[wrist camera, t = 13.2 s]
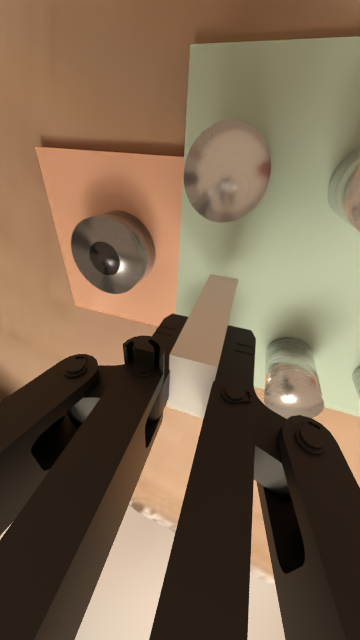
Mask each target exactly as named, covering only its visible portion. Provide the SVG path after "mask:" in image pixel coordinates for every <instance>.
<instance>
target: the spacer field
mask: <svg viewBox="0 0 360 640" xmlns="http://www.w3.org/2000/svg"><path fill="white" fill-rule="evenodd" d="M224 120H240V121H243V122H246V123H248V124H250V125H251V126H253V127H254V128H255V129H257V131H258V132H259V133H260V134H261V135H262V137H263V138H264V140H265V142H266V144H267V146H268V149H269V153H270V158H271V174H270V179H269V183H268V186H267V189H266V191H265V194H264V195H263V197H262V199H261V200H260V202H259V203H258V205H257V206H256V207H255V208H254V209H253V210H252V211H251V212H250V213H248V214H247V215H245V216H244V217H242V218H240V219H238V220H235V221H232V222H226V223H219V222H213V221H210V220H208V219H206V218H204V217H203V216H201V215H200V214H199V213H198V212H197V211H196V210H195V209H194V208H193V207H192V205H191V203H190V202H189V199H188V197H187V195H186V192H185V187H184V167H183V186H182V204H181V223H180V241H179V260H178V279H177V297H176V314H177V315H182V316H186V317H189V315H190V313H191V311H192V309H193V307H194V305H195V303H196V301H197V299H198V297H199V296H200V294H201V292H202V290H203V288H204V286H205V284H206V282H207V280H208V278H209V276H210V274H213V275H219V276H224V277H230V278H235V279H238V284H237V288H236V292H235V297H234V301H233V306H232V310H231V314H230V319H229V323H228V325H230V326H235V327H239V328H244V329H248V330H251V331H252V332H253V334H254V336H255V338H256V347H255V366H254V387H257V388H260V389H264V388H265V353H266V348H267V346H268V345H269V344H270V343H271V342H272V341H274V340H276V339H278V338H282V337H295V338H299V339H301V340H303V341H305V342H306V343H308V344H309V345H310V347H311V348H312V351H313V355H314V360H315V364H316V369H317V373H318V378H319V382H320V387H321V391H322V396H323V400H324V407H326V408H330V409H333V410H337V411H340V412H344V413H347V414H351V415H354V416H358V417H360V399H359V397H358V394H357V391H356V389H355V386H354V383H353V381H352V374H353V371H354V370H355V369H356V368H357V367H358V366H360V233H359V232H358V231H357V230H356V229H354V228H353V227H352V226H351V225H349V224H348V223H347V222H346V221H344V220H343V219H342V218H341V217H339V216H338V215H337V214H335V212H334V211H333V210H332V209H331V207H330V205H329V202H328V195H327V194H328V186H329V182H330V180H331V177H332V175H333V173H334V172H335V170H336V168H337V167H338V166H339V164H340V163H341V162H342V161H343V160H344V159H345V158H346V157H347V156H348V155H349V154H350V153H352V152H353V151H354V150H356V149H357V148H359V147H360V36H354V37H333V38H312V39H290V40H269V41H248V42H226V43H205V44H190V56H189V74H188V93H187V112H186V130H185V149H184V166H185V161H186V158H187V155H188V152H189V150H190V148H191V146H192V144H193V143H194V141H195V140H196V139H197V137H198V136H199V135H200V134H201V133H202V132H203V131H204V130H205V129H207V128H208V127H210V126H211V125H213V124H215V123H217V122H220V121H224Z"/></svg>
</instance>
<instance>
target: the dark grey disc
mask: <svg viewBox="0 0 360 640" xmlns="http://www.w3.org/2000/svg"><path fill="white" fill-rule="evenodd" d="M71 250H72V255H73V258H74V261H75V263H76V265H77V267H78V269H79V270H80V272H81V273H82V275H83V276H84V277H85V278H86V279H87V280H88V281H89V282H90V283H91V284H92V285H93V286H95V287H96V288H98V289H100V290H102V291H104V292H107V293H111V294H122V293H125V292H127V291H129V290H131V289H132V288H133V287H134V286H135V285H136V284H137V283H139V282H140V281H141V280H142V279H143V278H144V277H145V276H146V275H147V274H148V273H149V272H150V271H151V269H152V268H153V265H154V262H155V254H156V253H155V245H154V242H153V239H152V236H151V234H150V232H149V231H148V229H147V228H146V226H145V225H144V224H143V223H142V222H141V221H140V220H139V219H138V218H136V217H135V216H134V215H132V214H130V213H127V212H125V211H119V210H115V211H110V212H106V213H103V214H99V215H96V216H92V217H89V218H86V219H84V220H82V221H80V222H79V223H78V224H77V225H76V227H75V229H74V230H73V233H72V237H71Z"/></svg>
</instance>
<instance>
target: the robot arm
mask: <svg viewBox="0 0 360 640" xmlns="http://www.w3.org/2000/svg"><path fill="white" fill-rule="evenodd" d="M237 284H238V279H235V278H230V277H224V276H219V275H213V274H210V276H209V278H208V280H207V282H206V284H205V286H204V288H203V290H202V292H201V294H200V296H199V297H198V299H197V301H196V303H195V305H194V307H193V309H192V311H191V313H190V315H189V317H186V316H182V315H177V314H173V313H172V314H170V315H169V316H167V317H165V318H164V319H163V321H162V322H161V324H160V325H159V327H158V328H157V330H156V331H155V333H154V334H153V336H152V337H151V336H137V337H133V338H131V339H129V340H127V341H126V342H125V343H124V344H123V351H124V360H125V364H124V365H117V366H98V363H97V360H96V359H95V358H94V357H93V356H90V355H87V354H77V355H73V356H69V357H68V358H66V359H64V360H62V361H60V362H59V363H57V364H56V365H54V366H53V367H51V368H50V369H48V370H47V371H45V372H44V373H42V374H41V375H40V376H38V377H37V378H35V379H34V380H32V381H31V382H29V383H28V384H26V385H25V386H23V387H22V388H20V389H19V390H17V391H16V392H14V393H13V394H11V395H10V396H8V397H7V398H5V399H4V400H2V401H1V402H0V535H1V534H2V533H3V532H4V531H5V530H6V529H7V527H8V526H9V525H10V524H11V523H12V522H13V523H12V524H11V526H10V527H9V529H8V530H7V531H6V533H5V534H4V535H3V537H2V538H1V540H0V640H74V639H75V637H76V634H77V632H78V629H79V627H80V624H81V622H82V619H83V617H84V614H85V612H86V609H87V607H88V604H89V602H90V600H91V597H92V595H93V592H94V589H95V587H96V585H97V582H98V580H99V577H100V575H101V572H102V569H103V567H104V565H105V562H106V559H107V557H108V555H109V552H110V549H111V547H112V545H113V542H114V540H115V537H116V535H117V532H118V529H119V527H120V525H121V522H122V520H123V517H124V515H125V512H126V510H127V507H128V505H129V502H130V500H131V497H132V495H133V492H134V490H135V487H136V485H137V482H138V480H139V477H140V475H141V472H142V470H143V467H144V465H145V462H146V460H147V457H148V455H149V452H150V450H151V447H152V445H153V442H154V440H155V437H156V435H157V432H158V430H159V427H160V425H161V422H162V418H163V410H164V408H165V405H166V403H167V407H168V408H172V409H175V410H178V411H181V412H184V413H187V414H191V415H194V416H197V417H200V418H203V424H202V428H201V432H200V436H199V440H198V444H197V448H196V452H195V456H194V460H193V464H192V468H191V472H190V476H189V480H188V484H187V489H186V493H185V497H184V501H183V505H182V509H181V513H180V517H179V521H178V525H177V529H176V533H175V537H174V542H173V545H172V549H171V554H170V558H169V562H168V566H167V570H166V574H165V578H164V582H163V586H162V590H161V594H160V598H159V602H158V606H157V610H156V614H155V618H154V623H153V627H152V631H151V635H150V639H149V640H247V632H248V606H249V582H250V556H251V531H252V506H253V480H256V481H257V486H258V492H259V497H260V503H261V508H262V514H263V519H264V525H265V530H266V535H267V541H268V546H269V552H270V557H271V563H272V568H273V574H274V579H275V584H276V590H277V595H278V601H279V606H280V612H281V617H282V623H283V628H284V633H285V639H286V640H360V488H359V486H358V484H357V482H356V480H355V478H354V476H353V474H352V472H351V470H350V468H349V466H348V464H347V462H346V460H345V458H344V456H343V454H342V452H341V450H340V448H339V446H338V443H337V442H336V440H335V439H334V437H333V436H332V434H331V433H330V432H329V431H328V430H327V429H326V428H325V427H324V426H323V425H322V424H321V423H319V422H317V421H315V420H313V419H312V418H309V417H305V416H301V415H297V416H291V417H289V418H288V419H286V418H284V417H282V416H281V415H279V414H277V413H276V412H274V411H272V410H271V409H269V408H268V407H266V406H265V405H264V404H263V403H262V402H261V401H260V400H259V398H258V397H257V395H256V393H255V390H254V366H255V347H256V338H255V336H254V334H253V332H252V331H251V330H248V329H244V328H239V327H235V326H230V325H228V323H229V319H230V314H231V310H232V306H233V301H234V297H235V292H236V288H237ZM167 400H168V402H167Z"/></svg>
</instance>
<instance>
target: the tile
mask: <svg viewBox="0 0 360 640" xmlns="http://www.w3.org/2000/svg"><path fill="white" fill-rule="evenodd" d="M35 149H36V153H37V157H38V161H39V165H40V169H41V173H42V177H43V181H44V185H45V189H46V193H47V196H48V200H49V204H50V208H51V212H52V216H53V220H54V224H55V228H56V232H57V236H58V240H59V244H60V248H61V252H62V255H63V259H64V263H65V267H66V271H67V275H68V279H69V283H70V287H71V291H72V295H73V299H74V303H75V306H78V307H82V308H86V309H90V310H94V311H98V312H102V313H106V314H110V315H114V316H118V317H122V318H126V319H130V320H134V321H138V322H142V323H146V324H150V325H154V326H158V327H159V325H160V324H161V322H162V321H163V319H164V318H165V317H167V316H169V315H170V314H172V313H173V314H176V297H177V279H178V260H179V241H180V223H181V204H182V186H183V167H184V157H177V156H163V155H148V154H134V153H120V152H105V151H91V150H76V149H62V148H48V147H35ZM115 210H119V211H125V212H127V213H130V214H132V215H134V216H135V217H136V218H138V219H139V220H140V221H141V222H142V223H143V224H144V225H145V226H146V228H147V229H148V231H149V232H150V234H151V236H152V239H153V242H154V245H155V253H156V254H155V262H154V265H153V268H152V269H151V271H150V272H149V273H148V274H147V275H146V276H145V277H144V278H143V279H142V280H141V281H140V282H139V283H137V284H136V285H135V286H134V287H133V288H132V289H131V290H129V291H127V292H125V293H122V294H111V293H107V292H104V291H102V290H100V289H98V288H96V287H95V286H93V285H92V284H91V283H90V282H89V281H88V280H87V279H86V278H85V277H84V276H83V275H82V273H81V272H80V270H79V269H78V267H77V265H76V263H75V261H74V258H73V255H72V250H71V237H72V233H73V230H74V229H75V227H76V225H77V224H78V223H79V222H80V221H82V220H84V219H86V218H89V217H92V216H96V215H99V214H103V213H106V212H110V211H115Z"/></svg>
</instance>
